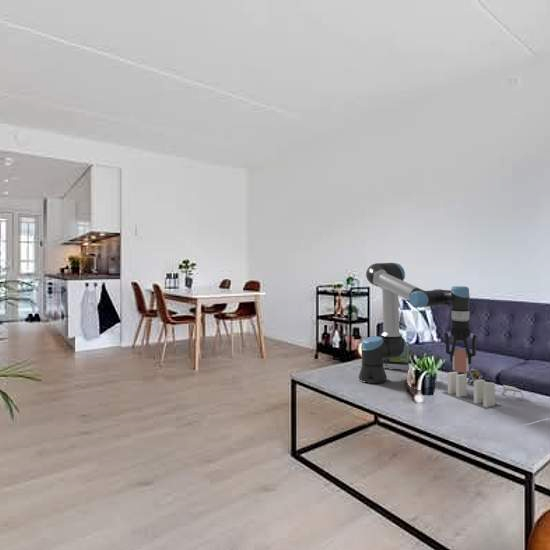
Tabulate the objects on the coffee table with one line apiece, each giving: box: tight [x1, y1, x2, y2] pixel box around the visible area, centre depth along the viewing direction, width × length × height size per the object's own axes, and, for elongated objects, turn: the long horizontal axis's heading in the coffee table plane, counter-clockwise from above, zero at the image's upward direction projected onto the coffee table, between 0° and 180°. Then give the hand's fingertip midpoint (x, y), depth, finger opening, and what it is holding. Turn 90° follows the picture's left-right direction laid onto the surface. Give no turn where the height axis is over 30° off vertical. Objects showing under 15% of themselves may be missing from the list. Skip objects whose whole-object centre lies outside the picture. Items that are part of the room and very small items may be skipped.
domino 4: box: [473, 378, 486, 404], centre depth 184 cm, size 2×5×10 cm, turn 114°
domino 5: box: [483, 381, 496, 407], centre depth 179 cm, size 2×5×10 cm, turn 114°
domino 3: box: [456, 373, 468, 397], centre depth 193 cm, size 2×5×10 cm, turn 114°
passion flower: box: [460, 367, 483, 387], centre depth 211 cm, size 11×11×12 cm
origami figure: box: [500, 384, 525, 401], centre depth 189 cm, size 12×8×5 cm
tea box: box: [383, 343, 410, 371], centre depth 246 cm, size 15×10×15 cm, turn 66°
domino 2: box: [454, 348, 468, 374], centre depth 185 cm, size 2×5×10 cm, turn 56°
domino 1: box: [447, 371, 459, 394], centre depth 197 cm, size 2×5×10 cm, turn 114°
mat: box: [441, 390, 502, 410], centre depth 188 cm, size 25×10×1 cm, turn 24°
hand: (460, 369), depth 185 cm, fingers closed on domino 2, 5 cm apart
